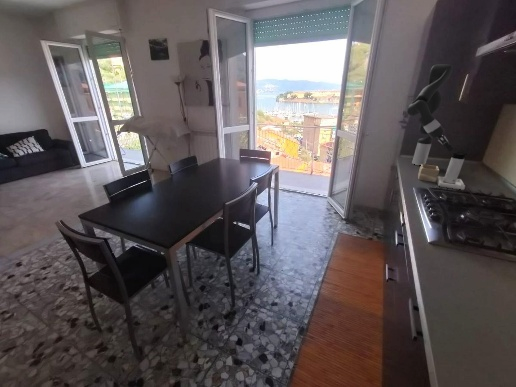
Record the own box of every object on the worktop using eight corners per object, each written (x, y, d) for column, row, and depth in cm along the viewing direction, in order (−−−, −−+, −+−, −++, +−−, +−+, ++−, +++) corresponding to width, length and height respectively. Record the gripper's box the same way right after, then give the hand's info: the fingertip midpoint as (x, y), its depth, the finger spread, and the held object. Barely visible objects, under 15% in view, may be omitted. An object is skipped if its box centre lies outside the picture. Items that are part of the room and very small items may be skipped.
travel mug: (455, 185, 145) (467, 154, 137) (442, 183, 149) (453, 152, 141) (455, 182, 150) (467, 152, 142) (443, 180, 154) (453, 150, 145)
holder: (417, 174, 167) (421, 164, 163) (434, 177, 162) (437, 166, 159) (418, 179, 158) (421, 168, 155) (435, 182, 154) (439, 170, 151)
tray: (436, 179, 158) (437, 176, 157) (459, 182, 152) (461, 179, 151) (438, 186, 147) (439, 182, 146) (463, 190, 141) (465, 186, 140)
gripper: (441, 126, 135) (459, 147, 135) (438, 122, 146) (455, 142, 146) (428, 134, 140) (445, 155, 139) (426, 130, 151) (442, 150, 151)
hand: (450, 148), depth 143 cm, fingers open, 8 cm apart
